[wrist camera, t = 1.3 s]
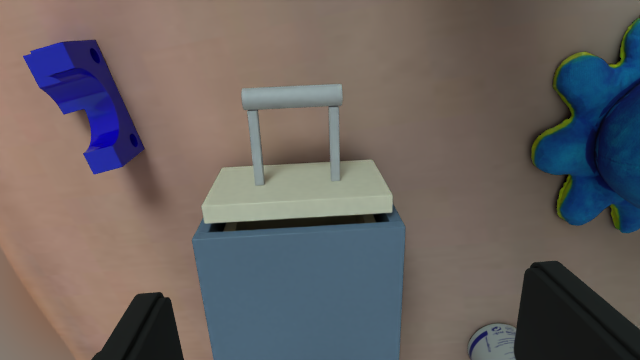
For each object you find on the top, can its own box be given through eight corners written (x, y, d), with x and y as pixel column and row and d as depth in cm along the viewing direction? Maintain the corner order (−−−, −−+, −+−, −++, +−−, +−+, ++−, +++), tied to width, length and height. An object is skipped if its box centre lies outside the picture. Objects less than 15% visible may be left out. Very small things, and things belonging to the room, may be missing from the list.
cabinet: (218, 184, 31) (191, 239, 23) (377, 175, 31) (405, 226, 23) (239, 330, 36) (223, 416, 28) (375, 320, 37) (397, 403, 29)
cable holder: (46, 53, 27) (6, 58, 23) (95, 39, 26) (62, 41, 23) (100, 161, 30) (72, 180, 26) (144, 149, 29) (122, 166, 26)
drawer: (210, 82, 27) (183, 99, 21) (373, 74, 27) (396, 89, 21) (241, 312, 34) (229, 376, 28) (370, 303, 35) (387, 365, 28)
